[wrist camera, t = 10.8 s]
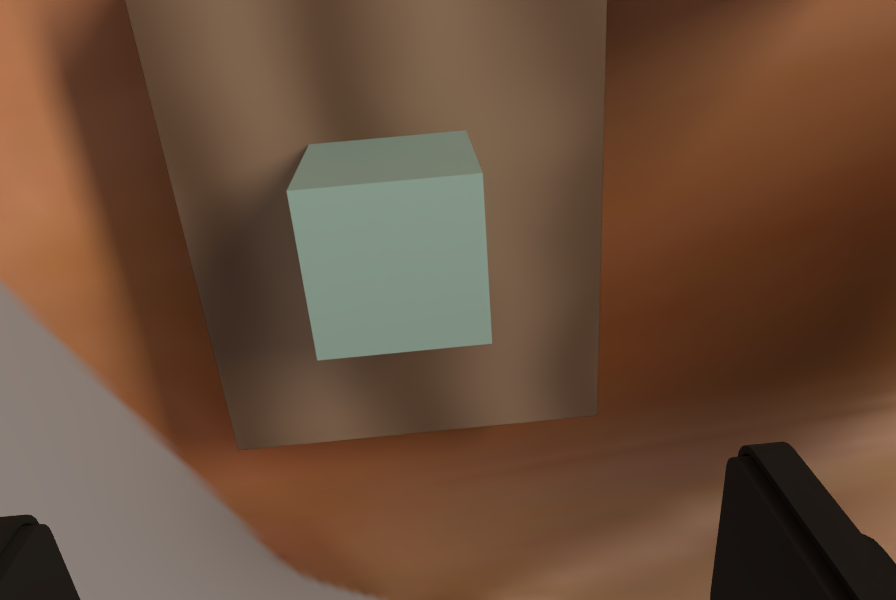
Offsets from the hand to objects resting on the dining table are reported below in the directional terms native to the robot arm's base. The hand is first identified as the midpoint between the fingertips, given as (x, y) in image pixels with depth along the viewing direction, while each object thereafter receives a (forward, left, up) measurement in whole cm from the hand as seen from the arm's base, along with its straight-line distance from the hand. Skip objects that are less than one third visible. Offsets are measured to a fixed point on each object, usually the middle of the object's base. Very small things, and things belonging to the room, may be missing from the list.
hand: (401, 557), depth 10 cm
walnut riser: (0, 0, -20) cm, 20 cm away
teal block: (0, 0, -15) cm, 15 cm away
